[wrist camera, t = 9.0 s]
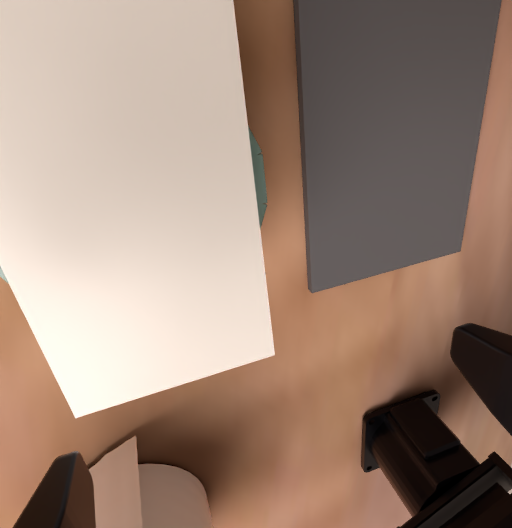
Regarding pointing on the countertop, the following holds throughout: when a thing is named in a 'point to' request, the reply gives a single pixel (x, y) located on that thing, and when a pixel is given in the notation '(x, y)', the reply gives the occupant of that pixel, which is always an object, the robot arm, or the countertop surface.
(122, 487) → the toilet tissue
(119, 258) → the white rectangular block
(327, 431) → the countertop surface
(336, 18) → the mat
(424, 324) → the countertop surface
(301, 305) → the countertop surface
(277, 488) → the countertop surface
